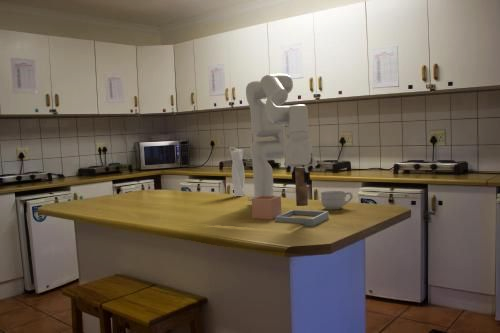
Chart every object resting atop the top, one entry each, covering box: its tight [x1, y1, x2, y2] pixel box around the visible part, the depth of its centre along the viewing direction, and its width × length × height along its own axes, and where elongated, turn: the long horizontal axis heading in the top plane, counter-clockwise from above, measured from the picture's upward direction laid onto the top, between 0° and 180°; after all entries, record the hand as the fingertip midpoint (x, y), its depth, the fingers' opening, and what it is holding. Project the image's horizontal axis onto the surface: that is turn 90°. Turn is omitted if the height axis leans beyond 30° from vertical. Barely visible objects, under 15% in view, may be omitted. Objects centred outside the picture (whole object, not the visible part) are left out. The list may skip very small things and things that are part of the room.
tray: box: [274, 209, 330, 227], centre depth 189 cm, size 16×16×3 cm
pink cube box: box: [251, 195, 283, 220], centre depth 197 cm, size 9×9×9 cm
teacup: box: [320, 190, 354, 210], centre depth 212 cm, size 14×11×8 cm
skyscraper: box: [229, 146, 246, 198], centre depth 266 cm, size 8×8×28 cm
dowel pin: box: [294, 166, 309, 207], centre depth 188 cm, size 4×4×15 cm
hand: (301, 181), depth 188 cm, fingers closed on dowel pin, 4 cm apart
